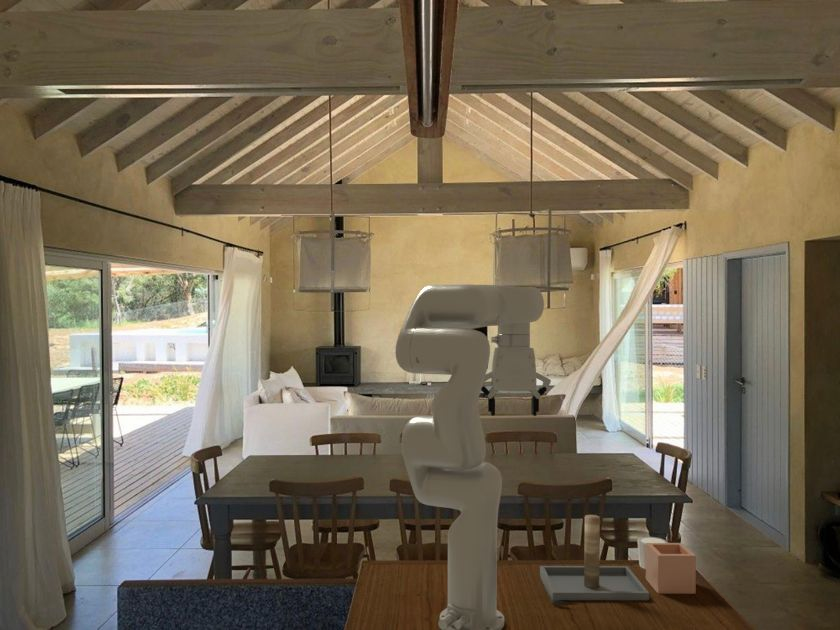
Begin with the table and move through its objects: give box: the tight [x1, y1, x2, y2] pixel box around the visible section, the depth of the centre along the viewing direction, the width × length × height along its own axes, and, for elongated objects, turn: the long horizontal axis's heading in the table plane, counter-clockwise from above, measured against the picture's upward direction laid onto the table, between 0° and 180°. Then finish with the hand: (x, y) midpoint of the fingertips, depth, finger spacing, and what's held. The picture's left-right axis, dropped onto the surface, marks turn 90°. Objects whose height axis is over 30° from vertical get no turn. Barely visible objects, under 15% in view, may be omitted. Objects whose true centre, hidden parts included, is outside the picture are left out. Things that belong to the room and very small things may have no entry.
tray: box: [539, 565, 650, 606], centre depth 153 cm, size 20×15×2 cm
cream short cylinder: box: [637, 536, 669, 570], centre depth 165 cm, size 7×7×7 cm
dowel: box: [583, 514, 601, 589], centre depth 153 cm, size 3×3×15 cm
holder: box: [645, 542, 697, 595], centre depth 153 cm, size 8×8×9 cm
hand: (513, 414), depth 165 cm, fingers open, 9 cm apart
